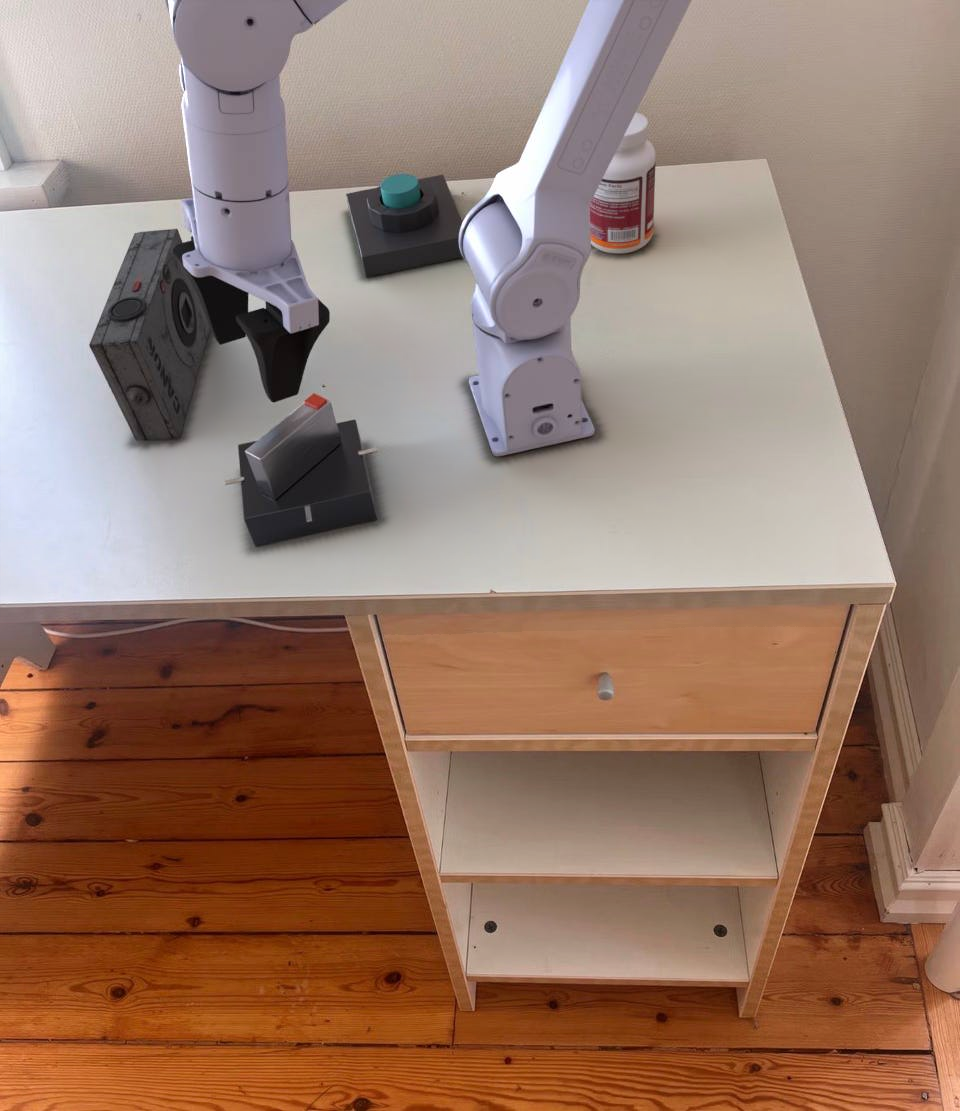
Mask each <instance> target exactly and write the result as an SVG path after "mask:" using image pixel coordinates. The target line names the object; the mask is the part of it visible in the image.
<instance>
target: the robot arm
mask: <svg viewBox="0 0 960 1111" xmlns="http://www.w3.org/2000/svg"><path fill="white" fill-rule="evenodd" d="M164 2H165V5H166V10H167V13H168V15H169V17H170V23H171V28H172V34H173V39H174V42H175V45H176V48H177V50H178V52H179V55H180V60H181V63H179V68H178V74H179V80H180V86H181V88H182V91H183V95H182V99H181V112H182V113H181V114H182V118H183V119H182V122H183V128H184V136H185V144H186V152H187V161H188V169H189V175H190V176H189V178H190V181H191V190H192V197H190V198H186V199H182V200H181V201H180V203H181V211H182V219H183V225H184V228H185V229H186V230H187V231H188V232H189V233H191V234H192V236H190V240H188V241H184V242H183V241H182V242H183V243H180V244H177V245H176V246H174V247H173V249H172V253H173V255H174V257H175V258H176V259H177V261H178V262H179V263H180V265H181V266H182V268H183V269H184V271H185V272H186V274H187V276H188V277H189V279H190V281H191V283H192V285H193V287H194V289H195V291H196V293H197V295H198V297H199V300H200V302H201V305H202V307H203V310H204V313H205V315H206V318H207V321H208V323H209V326H210V331H211V333H212V336H213V337H214V340H215V341H216V342H217V344H218V345H219V346H221V345H224V344H228V343H231V342H234V341H237V340H240V339H244V338H246V337H247V339H248V341H249V343H250V345H251V348H252V350H253V353H254V355H255V358H256V361H257V365H258V370H259V376H260V379H261V384H262V388H263V390H264V393H265V394H266V398H268V400H269V401H270V403H277V402H281V401H283V400H287V399H288V398H289V399H290V398H292V397H294V396H297V395H298V394H299V392H300V388H301V385H302V382H303V377H304V374H305V370H306V366H307V363H308V360H309V357H310V354H311V352H312V350H313V348H314V346H315V343H316V342H317V340H318V339H319V337H320V335H321V334H322V333H323V331H324V330H325V329H326V327H327V326H328V325H329V323H330V320H331V318H330V313H331V312H330V309H329V308H328V307H327V305H325V304H324V303H323V302H322V300H320V299H319V297H317V296H316V295H315V293H314V292H313V291H312V290H311V288H310V287H309V286H310V285H309V284H308V281H307V279H306V276H305V273H304V270H303V265H302V264H301V260H300V258H299V255H298V251H297V249H296V245H295V243H294V241H293V239H292V224H291V223H292V222H291V204H290V202H291V201H290V183H289V164H288V162H289V161H288V142H287V124H286V122H287V121H286V107H285V106H286V105H285V103H284V102H285V101H284V100H283V97H282V96H281V95H282V94H281V81H280V80H281V78H280V74H281V73H282V71H283V70H284V68H285V66H286V64H287V62H288V59H289V56H290V52H291V46H292V41H293V40H294V37H295V36H296V35H299V34H302V33H305V32H307V31H308V30H310V29H312V28H313V26H314V25H316V24H318V23H320V22H321V21H322V20H323V19H325V18H326V17H327V16H328V15H330V14H332V12H334V11H336V10H337V9H338V8H339V7H341V6H342V5H344V4H345V3H346V2H348V0H164ZM691 3H692V0H589V1H588V3H587V5H586V8H585V10H584V12H583V14H582V16H581V19H580V21H579V24H578V27H577V29H576V31H575V33H574V35H573V37H572V39H571V42H570V44H569V47H568V49H567V51H566V53H565V56H564V58H563V61H562V62H561V65H560V67H559V70H558V72H557V73H556V76H555V78H554V81H553V82H552V85H551V88H550V91H549V93H548V95H547V97H546V99H545V101H544V104H543V106H542V108H541V110H540V113H539V115H538V117H537V119H536V121H535V124H534V127H533V129H532V130H531V132H530V136H529V138H528V140H527V141H526V145H525V147H524V148H523V151H522V154H521V156H520V158H519V161H518V162H516V163H514V164H513V165H510V166H509V167H506V168H503V169H502V170H501V171H499V172H497V173H496V175H495V177H494V179H493V181H492V183H491V186H490V188H489V190H488V191H487V193H486V194H485V196H483V198H482V199H481V200H480V201H479V202H478V203H477V204H476V205H475V206H473V207H472V208H471V209H470V211H469V212H468V213H467V214H466V215H465V217H464V218H463V220H462V225H461V228H460V232H459V248H460V252H461V255H462V257H463V258H462V259H463V260H464V261H465V263H466V264H467V266H468V268H470V270H471V272H472V274H473V276H474V278H475V281H476V284H475V289H474V292H473V295H472V299H471V301H470V314H471V321H472V329H473V339H474V346H475V355H476V364H477V372H478V374H477V375H473V376H471V377H469V378H468V385H469V387H470V391H471V393H472V396H473V399H474V402H475V405H476V408H477V411H478V414H479V418H480V420H481V423H482V427H483V429H484V432H485V435H486V438H487V442H488V444H489V447H490V450H491V453H492V455H493V456H495V457H502V456H507V455H511V454H515V453H520V452H525V451H529V450H530V451H531V450H535V449H539V448H543V447H548V446H552V445H557V444H561V443H565V442H570V441H575V440H580V439H583V438H589V437H591V436H594V434H595V426H594V424H593V422H592V420H591V417H590V415H589V413H588V411H587V409H586V406H585V404H584V401H583V400H582V399H583V398H582V374H581V370H580V367H579V365H578V362H577V360H576V358H575V355H574V353H573V350H572V322H571V321H572V319H571V317H572V315H573V314H574V312H575V311H576V309H577V308H578V305H579V301H580V297H581V279H582V274H583V270H584V268H585V265H586V263H587V261H588V260H589V257H590V256H591V253H592V244H591V231H590V203H591V201H592V199H593V197H594V195H595V193H596V191H597V189H598V187H599V185H600V183H601V181H602V179H603V177H604V175H605V173H606V171H607V169H608V167H609V165H610V163H611V161H612V159H613V157H614V155H615V153H616V151H617V149H618V147H619V145H620V143H621V141H622V139H623V137H624V135H625V133H626V131H627V129H628V127H629V125H630V123H631V121H632V119H633V117H634V115H635V113H636V112H637V110H638V108H639V107H640V104H641V103H642V101H643V99H644V96H646V95H645V94H646V92H647V91H648V89H649V87H650V84H651V82H652V81H653V79H654V76H655V75H656V73H657V71H658V69H659V67H660V65H661V62H662V61H663V59H664V57H665V55H666V53H667V51H668V49H669V46H670V45H671V42H672V40H674V37H675V34H676V33H677V31H678V29H679V26H680V25H681V23H682V21H683V19H684V17H685V15H686V13H687V10H688V8H689V7H690V4H691ZM249 294H250V295H252V296H254V297H255V298H258V299H260V300H262V301H264V302H265V307H261V308H257V309H255V310H254V309H253V310H251V311H249Z"/></svg>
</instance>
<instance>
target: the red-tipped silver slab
mask: <svg viewBox="0 0 960 1111" xmlns="http://www.w3.org/2000/svg"><path fill="white" fill-rule="evenodd" d="M337 423H338V422H337V420H336V416H335V412H334V409H333V405H332V401H331V400H329V399H327V398H325V397H323V396H321V395H319V394H317V393H315V392H313V393H312V394H310V395H309V396H308V397H307V398H306V399H305V400H304V401H303V403H302V404H300V405H299V406H298V407H297V408H295V409H294V410H293V411H292V412H290V413H289V414H288V415H287V416H285V417H284V418H283V419H282V420H281V421H279V422H278V423H277V424H276V425H275V426H274V427H272V428H271V429H270V430H268V431H267V432H266V433H265V434H264V435H262V436H261V437H259V439H257V440H258V441H257V440H255V441H256V442H255V443H254V444H253V445H251V446H250V447H249V448H248V449H247V450H245V453H246V456H247V458H248V461H249V464H250V466H251V469H252V471H253V474H254V477H255V479H256V482H257V485H258V487H259V490H260V492H262V493H264V494H266V495H267V496H269V497H271V498H273V499H274V500H276V499H277V498H278V497H279V496H280V495H282V494H283V493H284V492H285V491H286V490H287V489H288V488H290V487H291V486H292V485H293V484H294V483H295V482H297V481H298V480H299V479H300V478H301V477H302V476H303V475H305V474H306V473H307V472H308V471H309V470H310V469H312V468H313V467H314V466H315V465H316V464H317V463H318V462H320V461H321V460H322V459H323V458H324V457H325V456H327V455H328V454H329V453H330V452H331V451H332V450H333V449H335V448H336V447H337V446H338V445H339V444H340V443H341V442H342V441H341V437H340V434H339V430H338V426H337Z"/></svg>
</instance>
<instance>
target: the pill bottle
mask: <svg viewBox="0 0 960 1111" xmlns="http://www.w3.org/2000/svg"><path fill="white" fill-rule="evenodd" d="M648 136H649V120H648V118H647V117H646V116H645V115H644V114H642V113H639V112H637V111H636V113H635V115H634V117H633V119H632V121H631V123H630V125H629V127H628V129H627V131H626V133H625V135H624V137H623V139H622V141H621V143H620V145H619V147H618V149H617V151H616V153H615V155H614V157H613V159H612V161H611V163H610V165H609V167H608V169H607V171H606V173H605V175H604V177H603V179H602V181H601V183H600V185H599V187H598V189H597V191H596V193H595V195H594V197H593V199H592V201H591V203H590V231H591V246H592V247H594V248H595V249H596V250H599V251H601V252H603V253H604V252H605V253H609V254H629V253H632V252H636V251H638V250H640V249H642V248H643V247H645V246H646V245H647V244H648V243H649V242H650V241H651V239H652V237H653V235H654V228H655V227H654V221H655V220H654V218H655V189H656V188H655V187H656V186H655V185H656V160H657V155H656V154H657V153H656V150H655V147H654V145H653V144H652V143H651V142H650V141H649V140H648Z"/></svg>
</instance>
